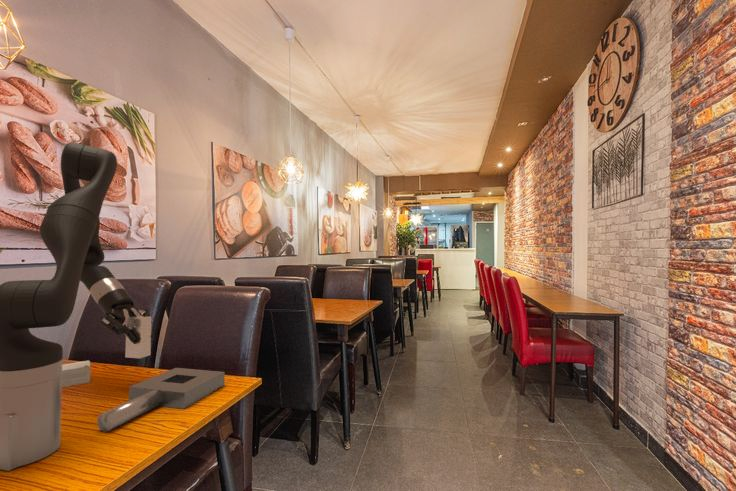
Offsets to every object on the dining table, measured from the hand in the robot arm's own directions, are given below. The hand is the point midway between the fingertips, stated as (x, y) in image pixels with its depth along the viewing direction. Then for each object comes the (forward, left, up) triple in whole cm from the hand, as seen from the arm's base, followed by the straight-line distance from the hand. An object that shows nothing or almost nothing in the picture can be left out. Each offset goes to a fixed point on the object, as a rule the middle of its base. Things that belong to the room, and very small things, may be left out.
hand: (144, 340), depth 96 cm
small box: (0, +26, -15) cm, 30 cm away
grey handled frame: (-6, -12, -14) cm, 20 cm away
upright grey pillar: (0, +2, -5) cm, 5 cm away
